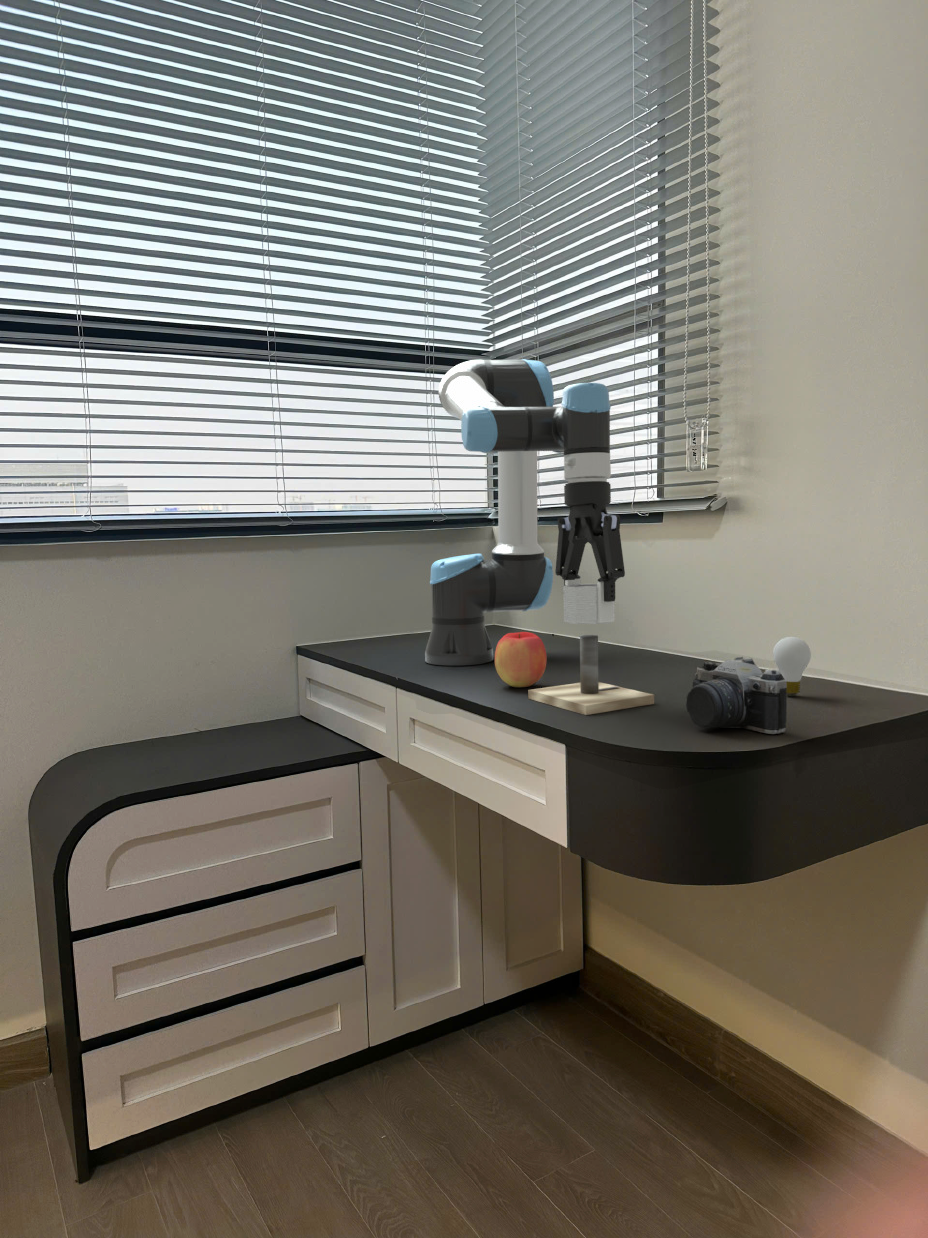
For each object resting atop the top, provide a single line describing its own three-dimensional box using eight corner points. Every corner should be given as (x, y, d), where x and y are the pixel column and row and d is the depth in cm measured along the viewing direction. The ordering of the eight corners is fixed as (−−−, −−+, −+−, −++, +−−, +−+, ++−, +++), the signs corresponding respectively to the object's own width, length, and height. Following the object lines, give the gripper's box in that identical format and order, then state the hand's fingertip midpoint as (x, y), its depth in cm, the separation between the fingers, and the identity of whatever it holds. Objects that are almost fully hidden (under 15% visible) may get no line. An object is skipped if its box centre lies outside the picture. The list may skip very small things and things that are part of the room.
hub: (555, 621, 144) (555, 584, 144) (593, 617, 148) (593, 581, 148) (585, 625, 137) (584, 586, 137) (624, 621, 141) (623, 583, 141)
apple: (492, 683, 163) (490, 630, 162) (541, 681, 164) (540, 629, 163) (498, 692, 154) (497, 637, 153) (551, 690, 155) (550, 635, 154)
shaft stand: (528, 698, 148) (527, 635, 147) (593, 689, 155) (592, 628, 154) (585, 715, 134) (584, 645, 133) (654, 703, 141) (653, 637, 140)
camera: (660, 722, 128) (660, 656, 127) (710, 713, 133) (710, 649, 132) (741, 744, 115) (742, 670, 114) (794, 733, 120) (795, 662, 119)
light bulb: (764, 695, 145) (765, 636, 144) (791, 691, 148) (792, 633, 147) (790, 701, 140) (791, 640, 139) (818, 697, 142) (819, 637, 141)
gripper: (532, 485, 148) (535, 617, 150) (610, 476, 130) (612, 626, 132) (567, 485, 151) (570, 614, 154) (648, 476, 133) (649, 622, 136)
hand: (589, 619), depth 143 cm, fingers closed on hub, 8 cm apart
